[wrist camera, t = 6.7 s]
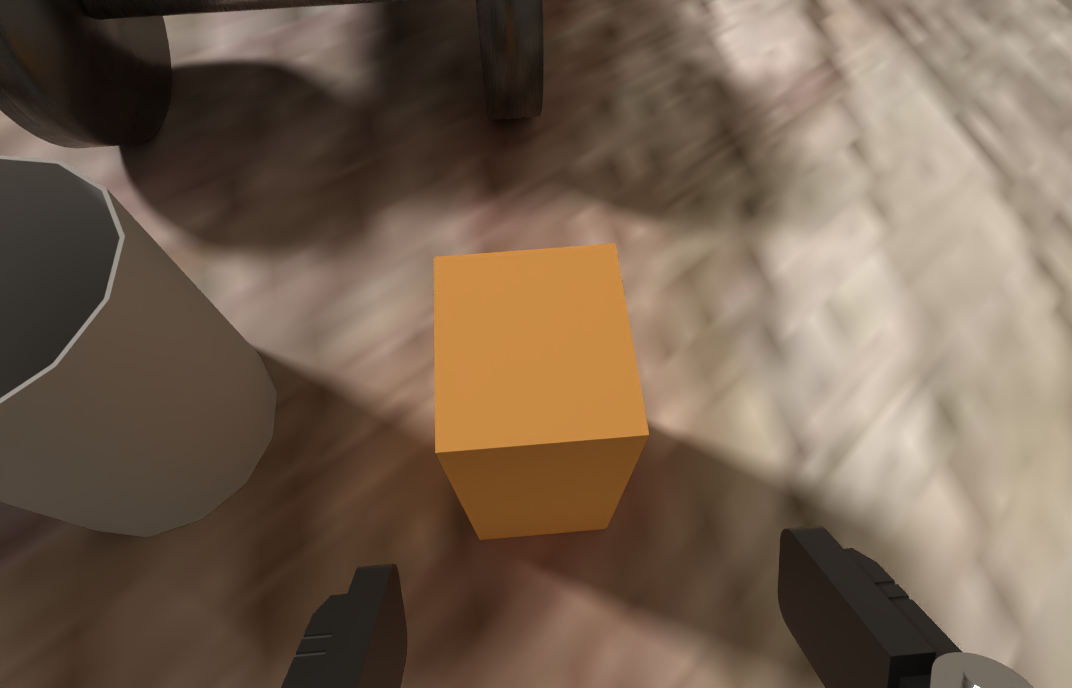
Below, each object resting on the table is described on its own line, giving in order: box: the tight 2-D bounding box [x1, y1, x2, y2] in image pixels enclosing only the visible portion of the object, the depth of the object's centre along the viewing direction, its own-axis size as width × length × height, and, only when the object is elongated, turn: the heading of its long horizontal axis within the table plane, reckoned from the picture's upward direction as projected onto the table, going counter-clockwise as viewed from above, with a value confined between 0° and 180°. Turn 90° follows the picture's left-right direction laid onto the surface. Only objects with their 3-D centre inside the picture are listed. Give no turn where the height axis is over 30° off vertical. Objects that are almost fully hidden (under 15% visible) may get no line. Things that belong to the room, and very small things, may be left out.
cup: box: [0, 155, 277, 537], centre depth 19 cm, size 8×8×10 cm
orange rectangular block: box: [434, 243, 649, 540], centre depth 18 cm, size 5×4×10 cm
